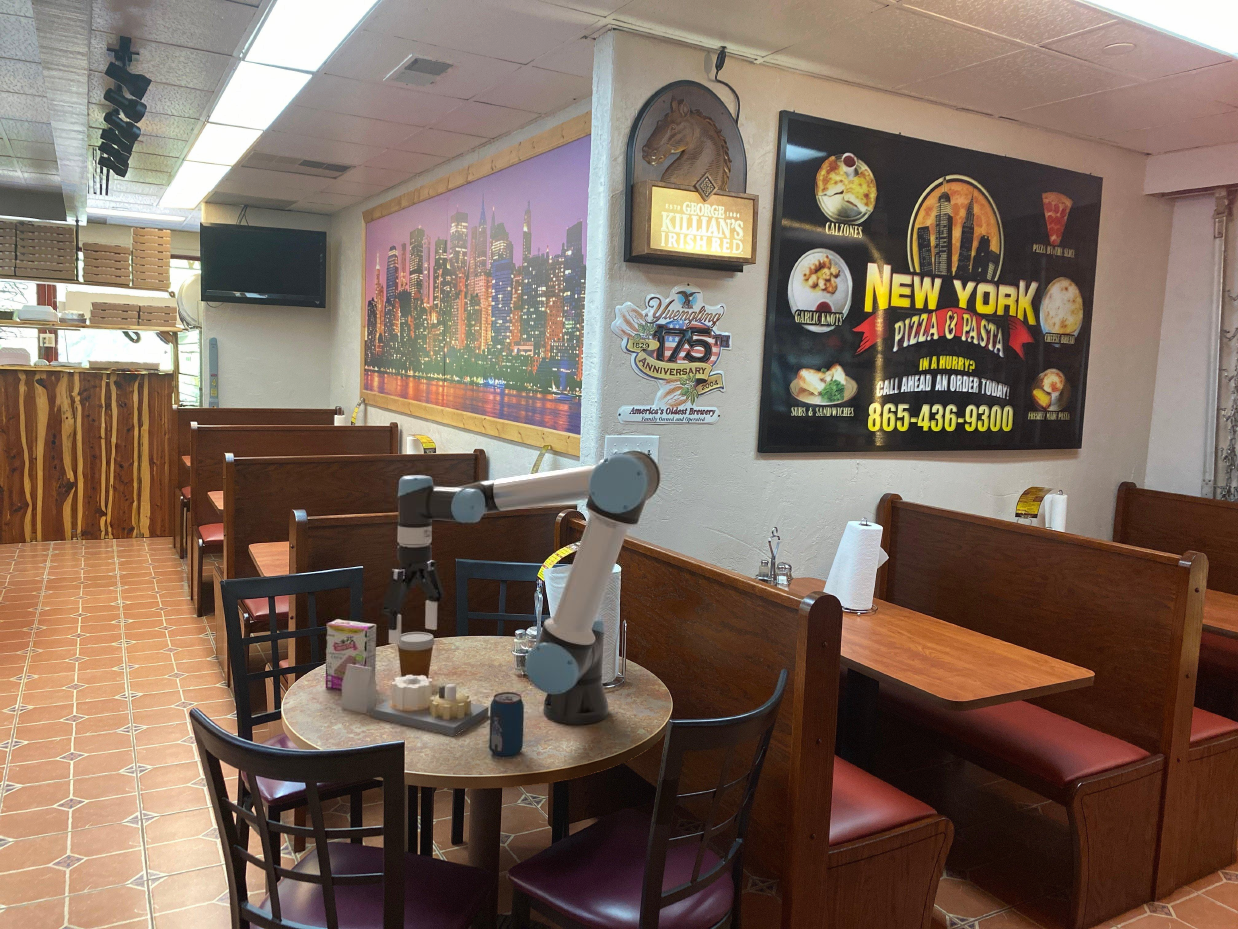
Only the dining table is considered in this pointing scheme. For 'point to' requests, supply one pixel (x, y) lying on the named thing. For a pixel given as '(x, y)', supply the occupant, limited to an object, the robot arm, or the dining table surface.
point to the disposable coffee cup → (415, 653)
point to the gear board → (435, 711)
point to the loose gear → (411, 692)
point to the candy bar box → (348, 649)
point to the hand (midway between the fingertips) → (413, 636)
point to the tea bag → (358, 689)
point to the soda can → (506, 725)
